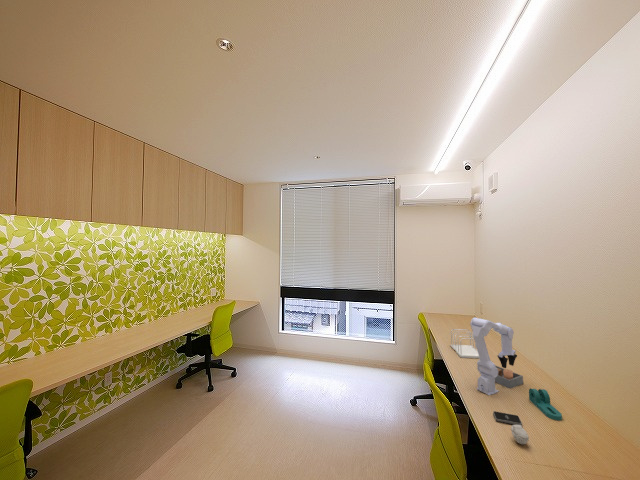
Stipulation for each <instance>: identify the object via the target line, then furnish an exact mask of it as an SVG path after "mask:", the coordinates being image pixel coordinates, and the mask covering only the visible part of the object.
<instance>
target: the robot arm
mask: <svg viewBox="0 0 640 480" xmlns="http://www.w3.org/2000/svg"><path fill="white" fill-rule="evenodd" d="M469 325H470V328H471V333H472V334H473V338H474V339H473V341H474V343H475V344H476V347H475V348H476V350H477V351H478V354H479V358H478V360H477V362H476V365H477V366H476V369H477V372H479V375H480V376H479V377H478V378H477V387H476V390H477V391H480V392H481V393H484V394H486V395H487V396H492V395H494V394H496V393H497V394H498V392H500V390H498V389H496V382H495V378H496V377H497V376H498V369H497V368H496V366H497V365H496V364H495V363H494V362H493V361H492V360H491V357H490V355H489V350H488V348H487V343H486V340H485V337H487V336H488V334H489V333H490V331H491V329H493V331H494V332H497V333H499V335H500V337H501V338H500V342H501V344H500V346H501V351H500V352H499V353H498V355H497V359H498V360H499V362H500V365H501V368H504V369H507V365H510V366H512V367H514V364H515V361H516V359H517V357H518V355H517V352H516V350H515V349H513V338H514V335H515V334H514V329H513V328H512V327H510V326H508V325H506V324H503V323H502V322H493V321H491V320H489V319H483V318H480V317H473V318H471V319H470V324H469ZM495 365H496V366H495Z"/></svg>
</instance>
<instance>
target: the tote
mask: <svg viewBox="0 0 640 480" xmlns="http://www.w3.org/2000/svg"><path fill="white" fill-rule="evenodd" d="M495 366H496V368H499V369H501V370H502V376H503V377H501V376H499V375H498V376H497V377H496V378H495V384H498V385H501V386H503V387H505V388H507V389H513V388H517V387H519V386H521V385H523V384H524V376H523V375H521V374H519V373H517V372H515V371H514V372H513V379H510V380H508V379H506V378H504V373H503V370H504V369H505V368H503V367H502V366H501V367H500V366H498V365H496V364H495Z"/></svg>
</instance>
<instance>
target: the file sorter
mask: <svg viewBox="0 0 640 480" xmlns="http://www.w3.org/2000/svg"><path fill="white" fill-rule="evenodd" d="M453 331H454V332H453ZM456 331H465V329H464V328H463V329H462V328H461V329H457V328H454V329H453V328H452V329H451V330H450V340H451V341H450V347H451V348H452V350H453V349H454V350H455V351H456V352H455V351H454V350H453V351H454V352H455V353H456V355H457V356H459V358H462V359H463V358H466V359H467V358H468V359H469V358H470V359H480V358H479V354H478V351H477V347H476V344H475V347H474V343H472V341H474V337H473V333H472V331H470V330H469V329H467V334H469V335H459V333H456ZM454 334H455V335H454ZM458 335H459V336H458ZM457 336H458V337H457ZM456 337H457V338H456ZM460 337H462V338H461V339H460V341H459V342H457V339H459V338H460ZM463 340H469V344H462V341H463ZM459 343H460V344H459Z"/></svg>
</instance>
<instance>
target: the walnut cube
mask: <svg viewBox="0 0 640 480" xmlns="http://www.w3.org/2000/svg"><path fill="white" fill-rule="evenodd" d="M497 369H498V375H499V376H501V377H503V376H502V370H501V369H499V368H497Z"/></svg>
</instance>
